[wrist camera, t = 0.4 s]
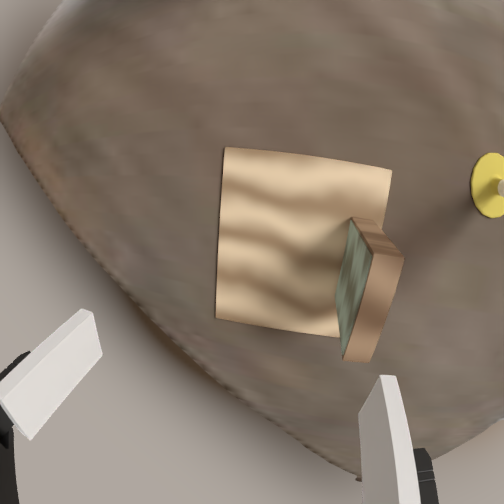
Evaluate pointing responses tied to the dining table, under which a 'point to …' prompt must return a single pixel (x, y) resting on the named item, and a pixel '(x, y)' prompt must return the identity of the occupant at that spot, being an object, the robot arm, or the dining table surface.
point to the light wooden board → (289, 235)
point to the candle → (489, 185)
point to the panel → (365, 288)
